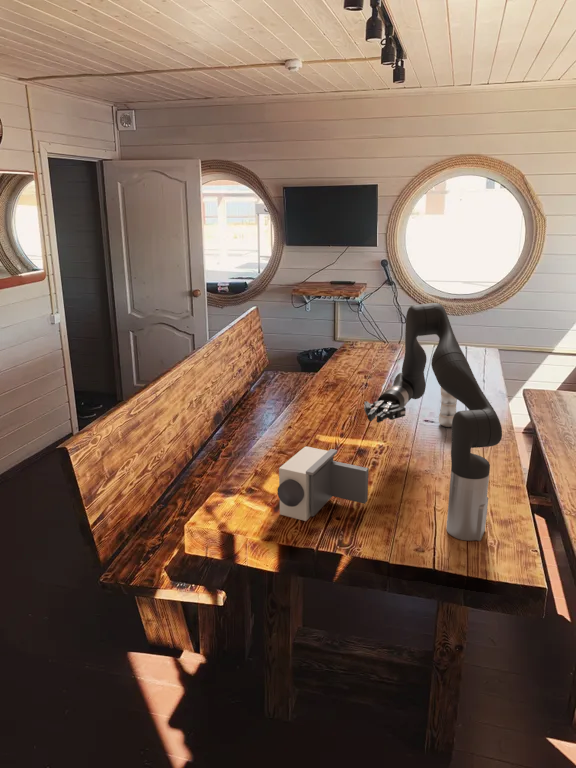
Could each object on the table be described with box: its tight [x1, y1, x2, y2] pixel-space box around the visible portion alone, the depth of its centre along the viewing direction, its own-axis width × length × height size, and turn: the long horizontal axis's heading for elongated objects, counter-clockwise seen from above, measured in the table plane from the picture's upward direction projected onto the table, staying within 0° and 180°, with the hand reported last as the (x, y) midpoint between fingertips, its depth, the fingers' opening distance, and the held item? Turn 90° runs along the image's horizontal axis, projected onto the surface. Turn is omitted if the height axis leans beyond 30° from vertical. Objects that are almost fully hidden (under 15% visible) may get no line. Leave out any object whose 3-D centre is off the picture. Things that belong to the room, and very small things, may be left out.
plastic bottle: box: [438, 386, 458, 428], centre depth 224 cm, size 6×7×20 cm
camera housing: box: [276, 446, 338, 522], centre depth 169 cm, size 10×18×15 cm, turn 152°
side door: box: [310, 456, 370, 518], centre depth 165 cm, size 11×13×12 cm
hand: (374, 418), depth 175 cm, fingers closed
